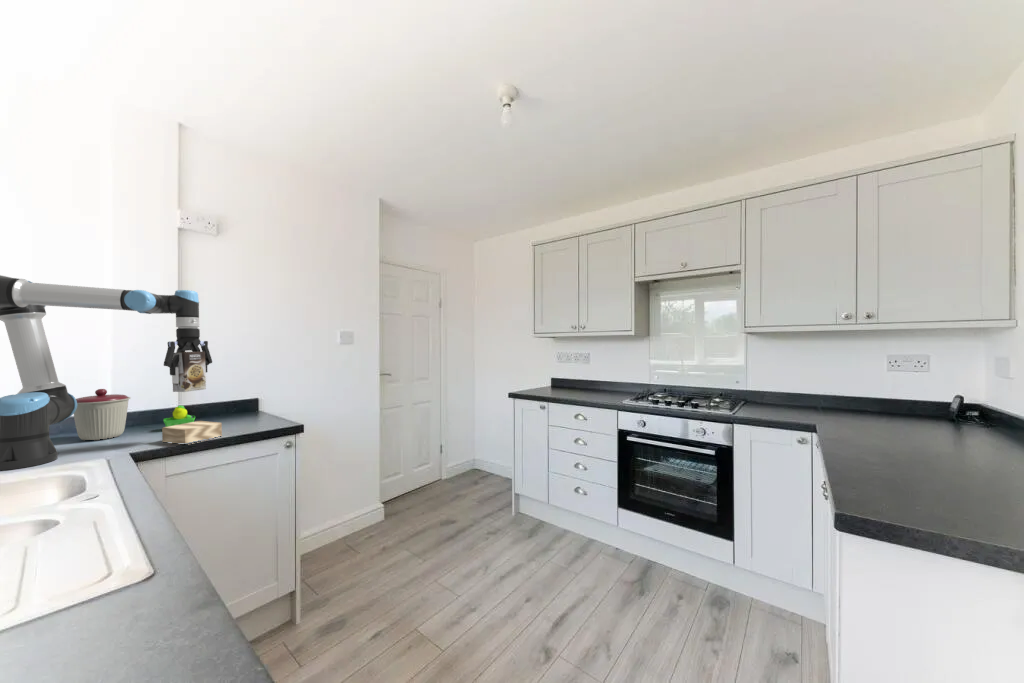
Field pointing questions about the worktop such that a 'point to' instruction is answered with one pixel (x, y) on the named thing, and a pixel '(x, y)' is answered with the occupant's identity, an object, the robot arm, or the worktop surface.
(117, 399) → the canister
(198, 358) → the coffee box
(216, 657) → the worktop surface
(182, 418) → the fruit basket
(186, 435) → the oak block
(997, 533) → the worktop surface
